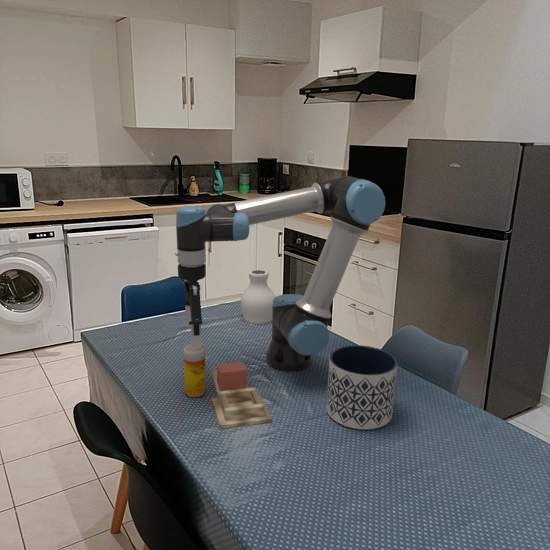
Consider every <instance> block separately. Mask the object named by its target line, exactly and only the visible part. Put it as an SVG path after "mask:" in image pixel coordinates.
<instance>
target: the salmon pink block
mask: <svg viewBox="0 0 550 550" xmlns="http://www.w3.org/2000/svg"><path fill="white" fill-rule="evenodd" d="M216 370H217V383H218V386H219V389H220V391H228V390H237V389H245V388H247V384H248V369H247V367H246V365H245V363H244V361H243V360H241V361H231V362H221V363H220V362H219V363H216Z"/></svg>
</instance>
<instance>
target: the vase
mask: <svg viewBox="0 0 550 550" xmlns="http://www.w3.org/2000/svg"><path fill="white" fill-rule="evenodd" d="M269 276H270V272H269V271H268V269H267V270H266V269H260V268H259V269H258V268H256V269H255V268H254V269H250V270H249V271H248V278H249V282H250V283H249V285H248V287H247V288H245V290H244V291H243V292H242V294H241V296H240V297H241V298H240V307H241V312H242V316H243V317H242V320H243V321H244V322H245V323H247V324H250V325H251V324H252V325H266V324H269V323H272V310H273V308H272V306H273V299H274V298H275V297H276V294H275V293H274V291H273V290H272V289H271V288H270V287H269V286H268V279H269Z"/></svg>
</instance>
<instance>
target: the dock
mask: <svg viewBox="0 0 550 550" xmlns="http://www.w3.org/2000/svg"><path fill="white" fill-rule="evenodd" d="M210 375H211V378H212V381H213V384H214V388H215V390H216V394H217V397H215V398H214V397H212V398H211V403H212V406H213V411H214V413H215V417H216V420H217V424H218V426H219V430H221V429H222V430H223V429H229V428H237V427H245V426H250V425H251V426H253V425H260V424H267V423H272V420H273V419H272V417H271V415H270V412H269V410H268V408H267V406H266V404H265V402H264V400H263V398H262V396H261V393H260V392H258V391H257V389H256V387H255V386H254V387H249V384H248V383H247V388H245V389H237V390H228V391H220V389H219V386H218V383H217V369H214V370H213V369H212V370H210Z"/></svg>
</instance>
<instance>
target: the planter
mask: <svg viewBox="0 0 550 550" xmlns="http://www.w3.org/2000/svg"><path fill="white" fill-rule="evenodd" d="M397 370H398V361H397V359H396V357H395V356H394V355H392V354H391V353H389V352H388V351H386V350H384V349H380V348H378V347H375V346H370V345H361V344H360V345H358V344H356V345H355V344H354V345H345V346H341V347H338V348H335V349H334V350H333V351H332V352H331V353H330V354H329V360H328V373H327V374H328V375H327V376H328V377H327V390H326V391H327V393H326V396H327V397H326V411H327V414H328V415H329V417H330V418H331V419H332V420H334V421H335V422H336V423H338V424H340V425H342V426H345V427H347V428H350V429H355V430H375V429H379V428H383V427H384V426H386V425H388V424H389V422H391V420H392V418H393V413H394V404H395V403H394V402H395V401H394V400H395V391H396V382H397V381H396V380H397V372H398V371H397Z"/></svg>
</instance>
